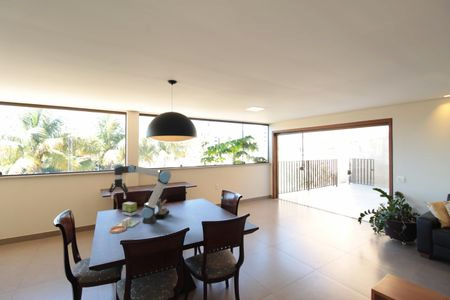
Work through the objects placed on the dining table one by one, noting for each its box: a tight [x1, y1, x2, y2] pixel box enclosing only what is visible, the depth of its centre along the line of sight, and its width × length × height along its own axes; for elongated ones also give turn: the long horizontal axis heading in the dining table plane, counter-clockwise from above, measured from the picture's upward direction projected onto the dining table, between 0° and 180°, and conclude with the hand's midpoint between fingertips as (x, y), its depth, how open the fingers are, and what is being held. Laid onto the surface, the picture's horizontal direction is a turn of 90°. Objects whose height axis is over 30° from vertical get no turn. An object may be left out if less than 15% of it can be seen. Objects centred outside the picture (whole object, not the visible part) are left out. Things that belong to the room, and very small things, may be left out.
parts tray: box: [112, 220, 140, 228], centre depth 232 cm, size 21×16×2 cm
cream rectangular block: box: [124, 217, 132, 224], centre depth 236 cm, size 4×4×6 cm
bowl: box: [109, 226, 127, 234], centre depth 216 cm, size 15×15×2 cm
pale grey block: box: [121, 218, 128, 226], centre depth 229 cm, size 4×4×6 cm
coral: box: [155, 198, 170, 219], centre depth 264 cm, size 25×20×22 cm
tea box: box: [121, 201, 138, 217], centre depth 272 cm, size 15×10×15 cm, turn 66°
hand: (118, 198), depth 223 cm, fingers open, 13 cm apart
